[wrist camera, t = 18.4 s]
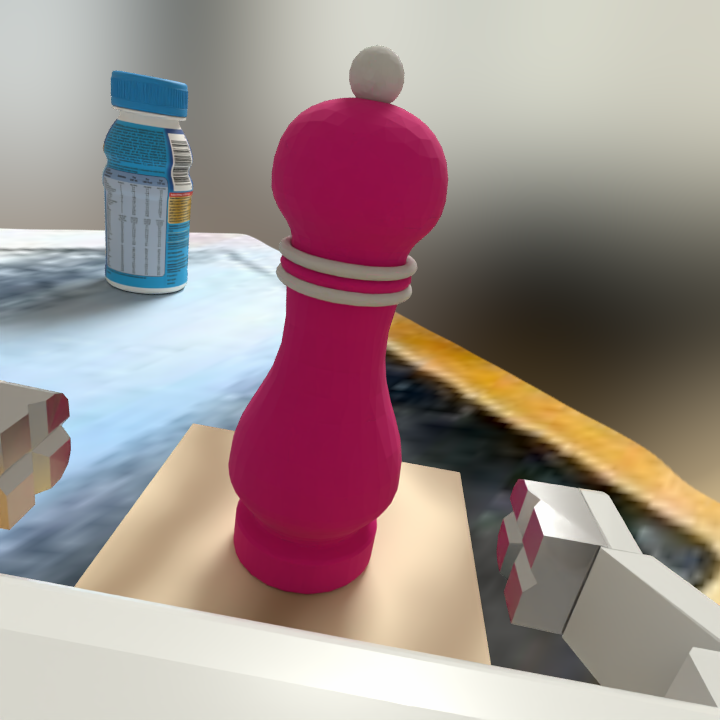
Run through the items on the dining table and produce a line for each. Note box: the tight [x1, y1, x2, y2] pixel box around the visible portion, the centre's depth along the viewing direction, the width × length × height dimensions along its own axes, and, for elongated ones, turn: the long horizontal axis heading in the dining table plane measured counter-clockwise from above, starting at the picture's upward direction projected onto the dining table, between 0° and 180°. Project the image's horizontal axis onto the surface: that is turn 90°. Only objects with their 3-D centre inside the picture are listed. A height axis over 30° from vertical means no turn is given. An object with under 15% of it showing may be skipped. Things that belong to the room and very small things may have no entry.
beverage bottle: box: [102, 71, 193, 294], centre depth 55 cm, size 8×8×20 cm
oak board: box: [75, 424, 491, 665], centre depth 26 cm, size 16×16×2 cm
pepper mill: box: [228, 45, 448, 594], centre depth 21 cm, size 7×7×20 cm
